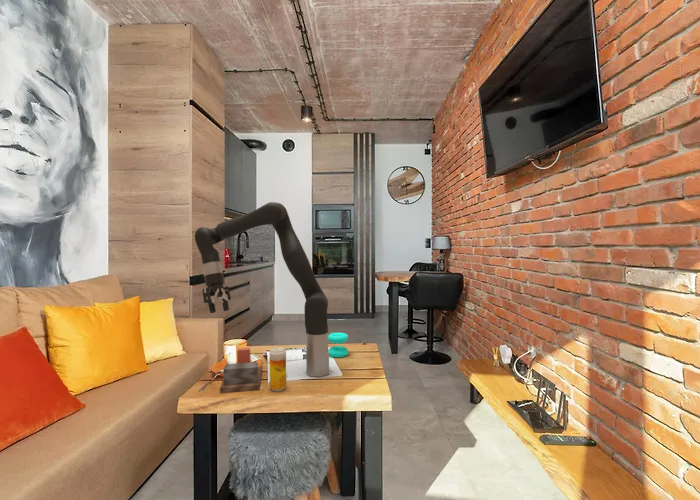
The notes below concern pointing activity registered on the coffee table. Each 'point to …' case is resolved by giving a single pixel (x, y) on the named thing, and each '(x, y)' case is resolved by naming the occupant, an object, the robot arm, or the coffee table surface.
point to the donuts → (338, 350)
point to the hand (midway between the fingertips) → (220, 311)
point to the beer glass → (277, 369)
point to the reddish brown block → (243, 355)
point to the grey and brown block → (241, 377)
